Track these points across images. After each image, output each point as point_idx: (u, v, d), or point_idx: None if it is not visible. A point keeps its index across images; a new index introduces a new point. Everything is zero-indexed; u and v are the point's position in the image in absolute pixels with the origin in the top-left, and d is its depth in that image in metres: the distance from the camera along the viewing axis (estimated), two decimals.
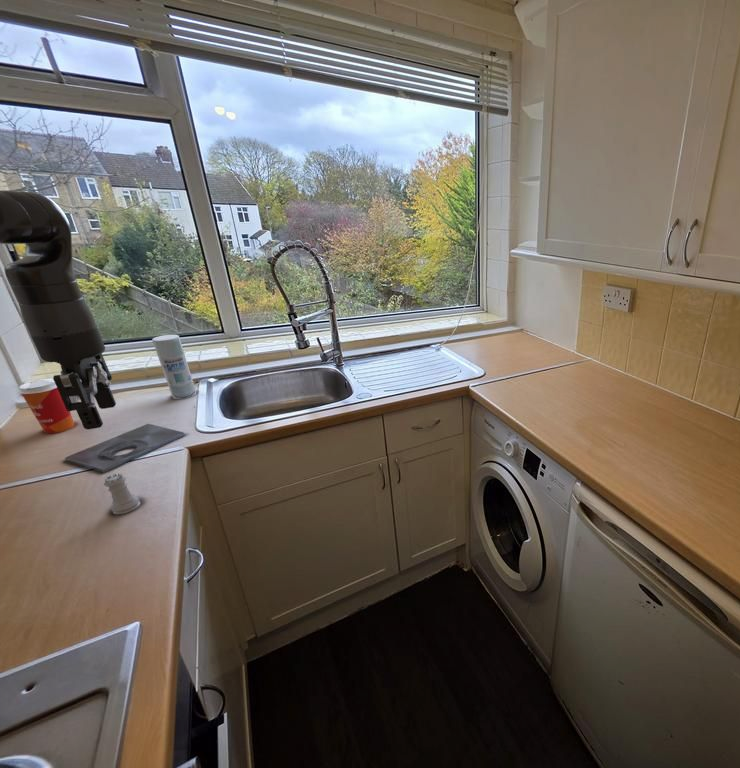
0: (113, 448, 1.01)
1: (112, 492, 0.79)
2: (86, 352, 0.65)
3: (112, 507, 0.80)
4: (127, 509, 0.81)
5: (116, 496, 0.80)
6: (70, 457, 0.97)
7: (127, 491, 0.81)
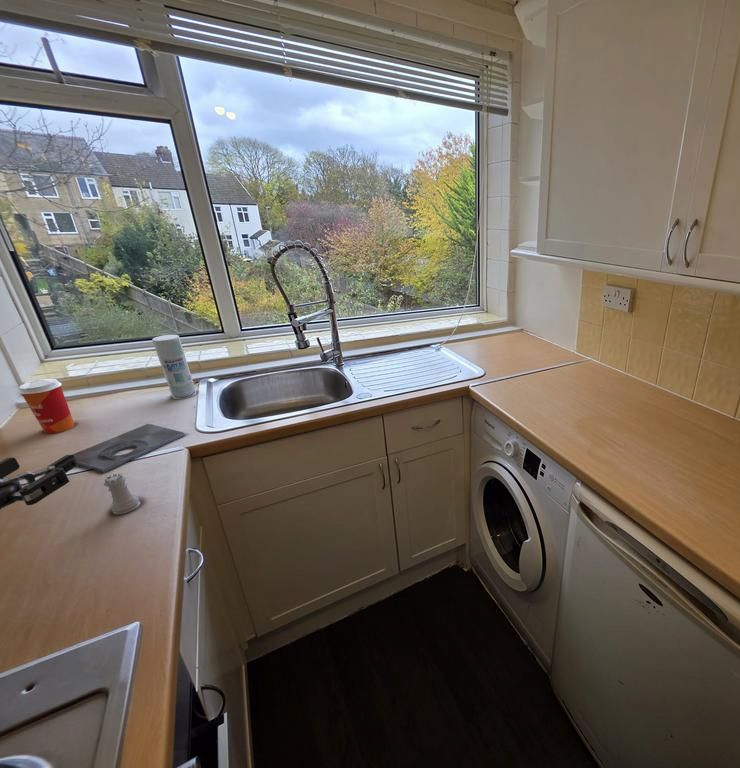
0: (113, 448, 1.01)
1: (112, 492, 0.79)
2: None
3: (112, 507, 0.80)
4: (127, 509, 0.81)
5: (117, 496, 0.80)
6: None
7: (127, 491, 0.81)
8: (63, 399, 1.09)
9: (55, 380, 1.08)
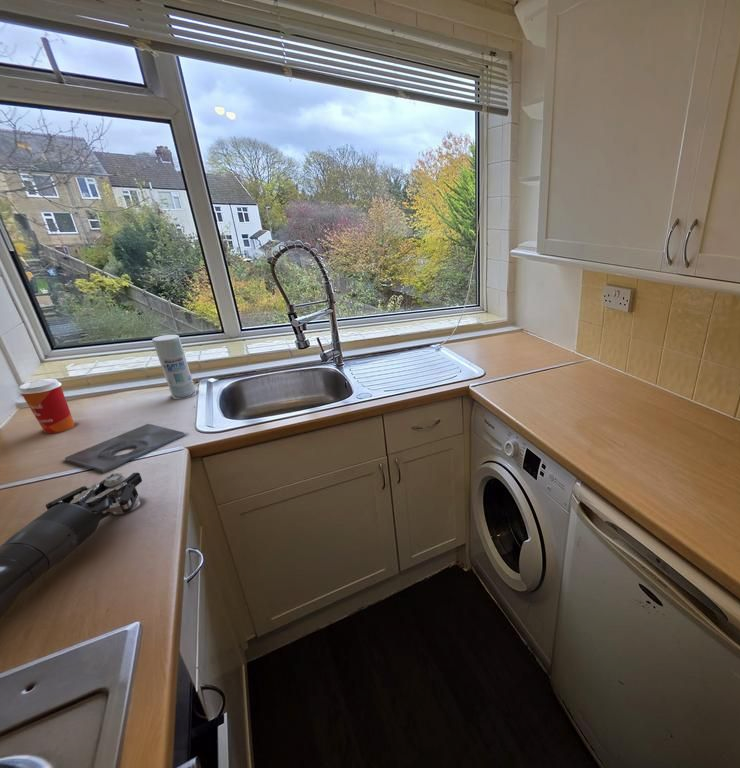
0: (113, 448, 1.01)
1: None
2: None
3: None
4: None
5: None
6: (70, 457, 0.97)
7: None
8: (63, 399, 1.09)
9: (55, 380, 1.08)
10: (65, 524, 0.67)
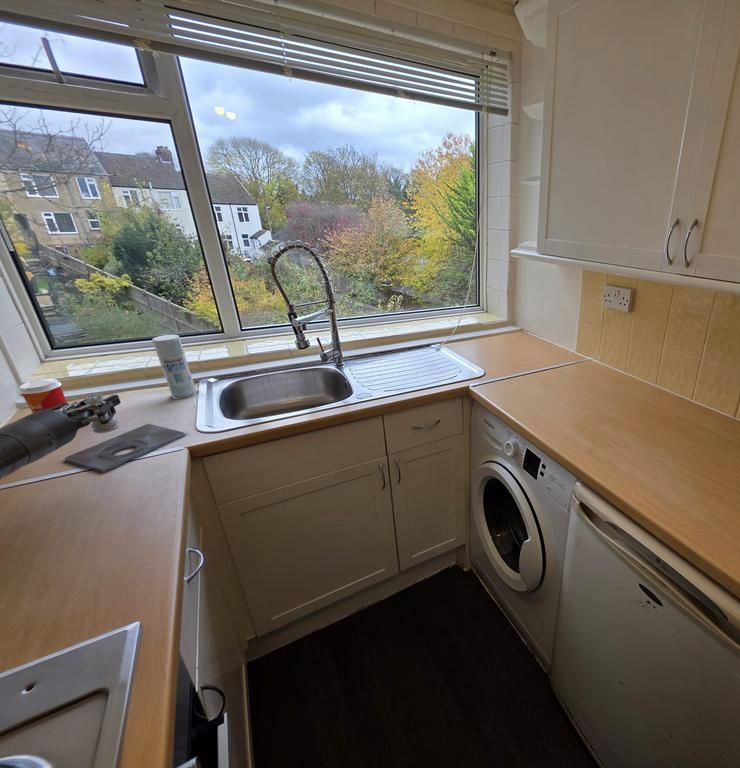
0: (113, 448, 1.01)
1: None
2: None
3: (92, 425, 0.87)
4: (106, 427, 0.88)
5: None
6: (70, 457, 0.97)
7: None
8: (63, 399, 1.09)
9: (55, 380, 1.08)
10: (45, 425, 0.74)
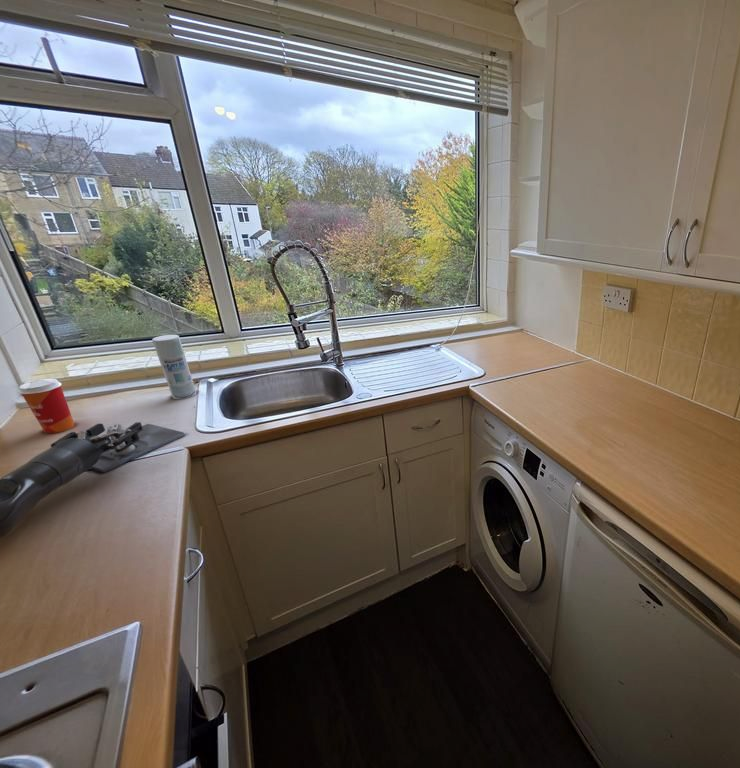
0: None
1: (113, 439, 0.97)
2: None
3: (113, 452, 0.98)
4: None
5: None
6: None
7: None
8: (63, 399, 1.09)
9: (55, 380, 1.08)
10: (74, 452, 0.85)
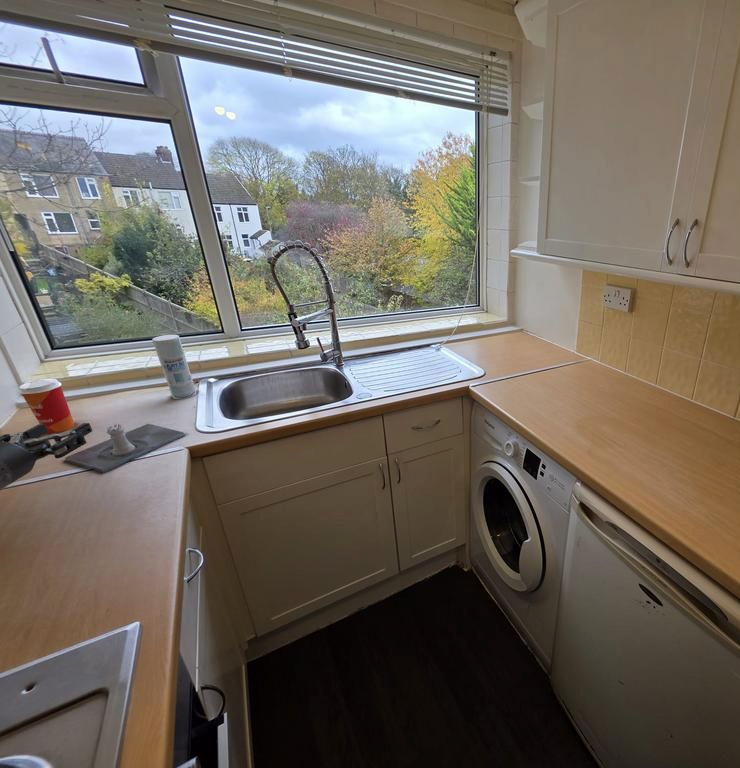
0: None
1: (113, 439, 0.97)
2: None
3: (113, 452, 0.98)
4: None
5: (117, 443, 0.98)
6: (70, 457, 0.97)
7: (125, 439, 0.99)
8: (63, 399, 1.09)
9: (55, 380, 1.08)
10: None
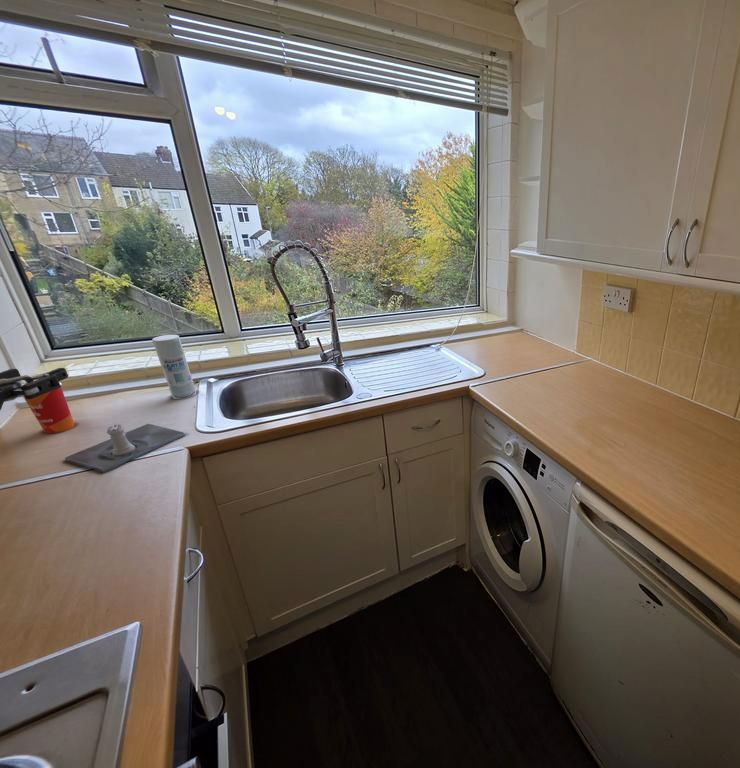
0: None
1: (113, 439, 0.97)
2: None
3: (113, 452, 0.98)
4: None
5: (117, 443, 0.98)
6: (70, 457, 0.97)
7: (125, 439, 0.99)
8: (63, 399, 1.09)
9: None
10: None
